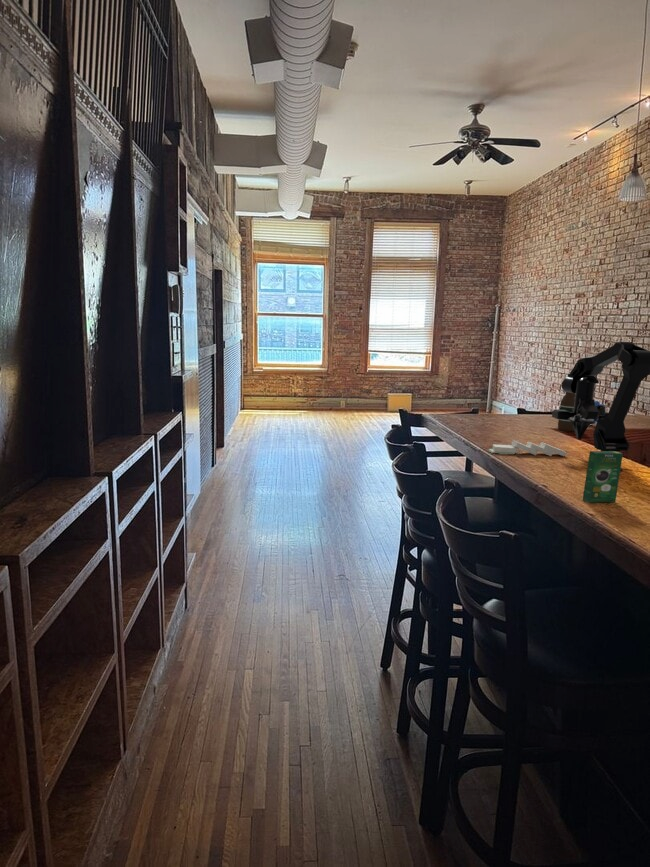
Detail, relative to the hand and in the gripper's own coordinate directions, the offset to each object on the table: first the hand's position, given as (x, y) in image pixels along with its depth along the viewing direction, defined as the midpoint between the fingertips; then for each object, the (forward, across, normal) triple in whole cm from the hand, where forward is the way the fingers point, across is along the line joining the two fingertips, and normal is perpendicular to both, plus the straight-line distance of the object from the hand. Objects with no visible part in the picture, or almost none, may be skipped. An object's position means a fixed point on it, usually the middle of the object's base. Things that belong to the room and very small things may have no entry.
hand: (578, 439), depth 192 cm
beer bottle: (+6, +19, +57) cm, 60 cm away
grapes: (+6, +37, +73) cm, 82 cm away
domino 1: (+6, -22, 0) cm, 23 cm away
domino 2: (+4, -21, 0) cm, 22 cm away
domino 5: (+5, -5, 0) cm, 7 cm away
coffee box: (+6, -17, -54) cm, 57 cm away
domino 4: (+5, -10, 0) cm, 11 cm away
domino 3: (+5, -15, 0) cm, 16 cm away
